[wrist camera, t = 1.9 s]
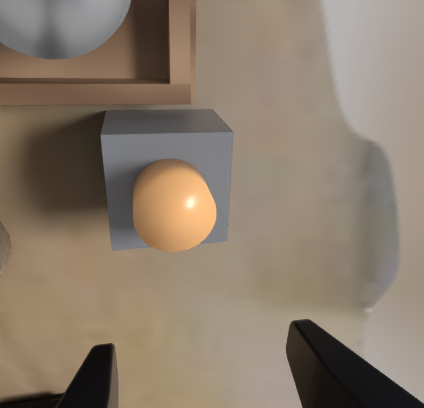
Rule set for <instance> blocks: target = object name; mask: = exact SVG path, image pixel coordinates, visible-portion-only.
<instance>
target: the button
mask: <svg viewBox="0 0 424 408" xmlns="http://www.w3.org/2000/svg"><path fill="white" fill-rule="evenodd" d="M215 221H216V205H215V202H214V199H213V197H212V195H211V193H210V191H209V188H208V186H207V184H206V182H205V180H204V178H203V176H202V174H201V173H200V171H199V170H198V169H197V168H196V167H194V166H193V165H192V164H190V163H188V162H186V161H183V160H179V159H163V160H159V161H156V162H154V163H152V164H150V165H148V166H147V167H146V168H145V169H143V170H142V171H141V173H140V174H139V175H138V177H137V178H136V181H135V183H134V186H133V222H134V227H135V230H136V232H137V234H138V235H139V237H140V238H141V239H142V240H143V241H144V242H145V243H146V244H148V245H149V246H151V247H153V248H155V249H158V250H161V251H166V252H178V251H184V250H187V249H190V248H192V247H194V246H196V245H198V244H199V243H201V242H202V241H203V240H204V239H205V238H206V237H207V236H208V235H209V233H210V232H211V230H212V229H213V226H214V224H215Z"/></svg>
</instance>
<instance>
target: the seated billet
mask: <svg viewBox="0 0 424 408" xmlns="http://www.w3.org/2000/svg"><path fill="white" fill-rule="evenodd" d="M130 3H131V0H0V43H2V44H4V45H5V46H7V47H9V48H11V49H13V50H15V51H18V52H20V53H23V54H26V55H29V56H33V57H37V58H42V59H54V60H55V59H68V58H73V57H78V56H80V55H83V54H86V53H88V52H90V51H92V50H94V49H96V48H97V47H99V46H100V45H102V44H103V43H104V42H106V41H107V40H108V39H109V38H110V37H111V36H112V35H113V34H114V33H115V31H116V30H117V29H118V28H119V27H120V26H121V24H122V23H123V21H124V19H125V18H126V16H127V13H128V11H129V7H130Z"/></svg>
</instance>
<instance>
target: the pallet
mask: <svg viewBox="0 0 424 408" xmlns="http://www.w3.org/2000/svg"><path fill="white" fill-rule="evenodd" d="M195 43H196V0H131V3H130V7H129V11H128V13H127V16H126V18H125V19H124V21H123V23H122V24H121V26H120V27H119V28H118V29H117V30H116V31H115V33H114V34H113V35H112V36H111V37H110V38H109V39H108V40H107V41H106V42H104V43H103V44H102V45H100V46H99V47H97V48H96V49H94V50H92V51H90V52H88V53H86V54H83V55H80V56H78V57H73V58H68V59H55V60H54V59H42V58H37V57H33V56H29V55H26V54H23V53H20V52H18V51H15V50H13V49H11V48H9V47H7V46H5V45H4V44H2V43H0V105H125V104H191V102H195Z"/></svg>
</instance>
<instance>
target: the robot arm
mask: <svg viewBox="0 0 424 408" xmlns="http://www.w3.org/2000/svg"><path fill="white" fill-rule="evenodd" d="M286 354H287V359H288V362H289V365H290V369H291V372H292V375H293V378H294V381H295V385H296V388H297V391H298V394H299V398H300V401H301V404H302V407H303V408H424V404H423V403H422V402H421V401H420V400H418V399H417V398H415V397H414V396H413V395H411V394H410V393H409V392H407V391H406V390H405V389H403V388H402V387H400V386H399V385H398V384H396V383H395V382H394V381H392V380H391V379H390V378H388V377H387V376H386V375H384V374H383V373H381V372H380V371H379V370H378V369H376V368H375V367H373V366H372V365H371V364H369V363H368V362H367V361H365V360H364V359H363V358H361V357H360V356H359V355H357V354H356V353H354V352H353V351H352V350H350V349H349V348H348V347H346V346H345V345H344V344H342V343H341V342H340V341H338V340H337V339H336V338H334V337H333V336H331V335H330V334H329V333H327V332H326V331H325V330H323V329H322V328H321V327H319V326H318V325H317V324H315V323H314V322H312V321H311V320H309V319H302V320H294V321H292V322H291V323H290V326H289V332H288V338H287V344H286ZM0 408H118V370H117V361H116V352H115V346H114V344H112V343H108V344H100V345H95V346H94V347H92V349H91V350H90V352H89V354H88V355H87V357H86V359H85V360H84V362H83V364H82V365H81V367H80V368H79V370H78V372H77V373H76V375H75V377H74V378H73V380H72V382H71V383H70V385H69V387H68V388H67V390H66V391H65V393H64V395H63V396H57V397H50V398H43V399H36V400H29V401H23V402H16V403H9V404H2V405H0Z"/></svg>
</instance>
